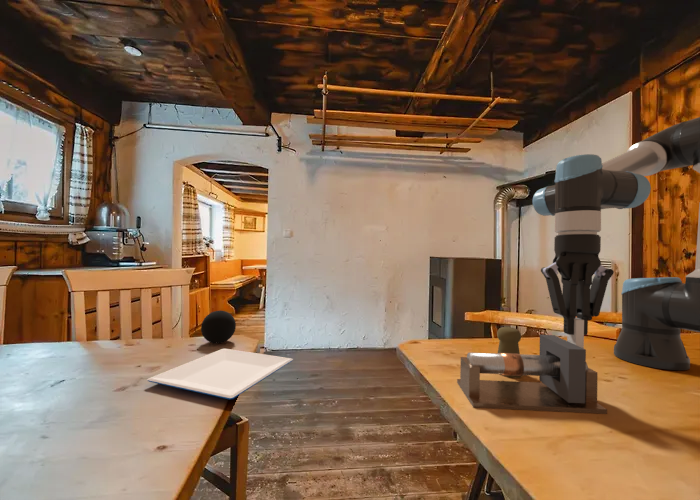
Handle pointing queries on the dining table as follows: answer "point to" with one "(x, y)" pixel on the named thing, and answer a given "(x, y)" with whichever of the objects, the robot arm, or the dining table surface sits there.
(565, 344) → the collar
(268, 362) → the plate
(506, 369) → the pipe rig
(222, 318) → the decorative ball
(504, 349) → the cork
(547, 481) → the dining table surface
